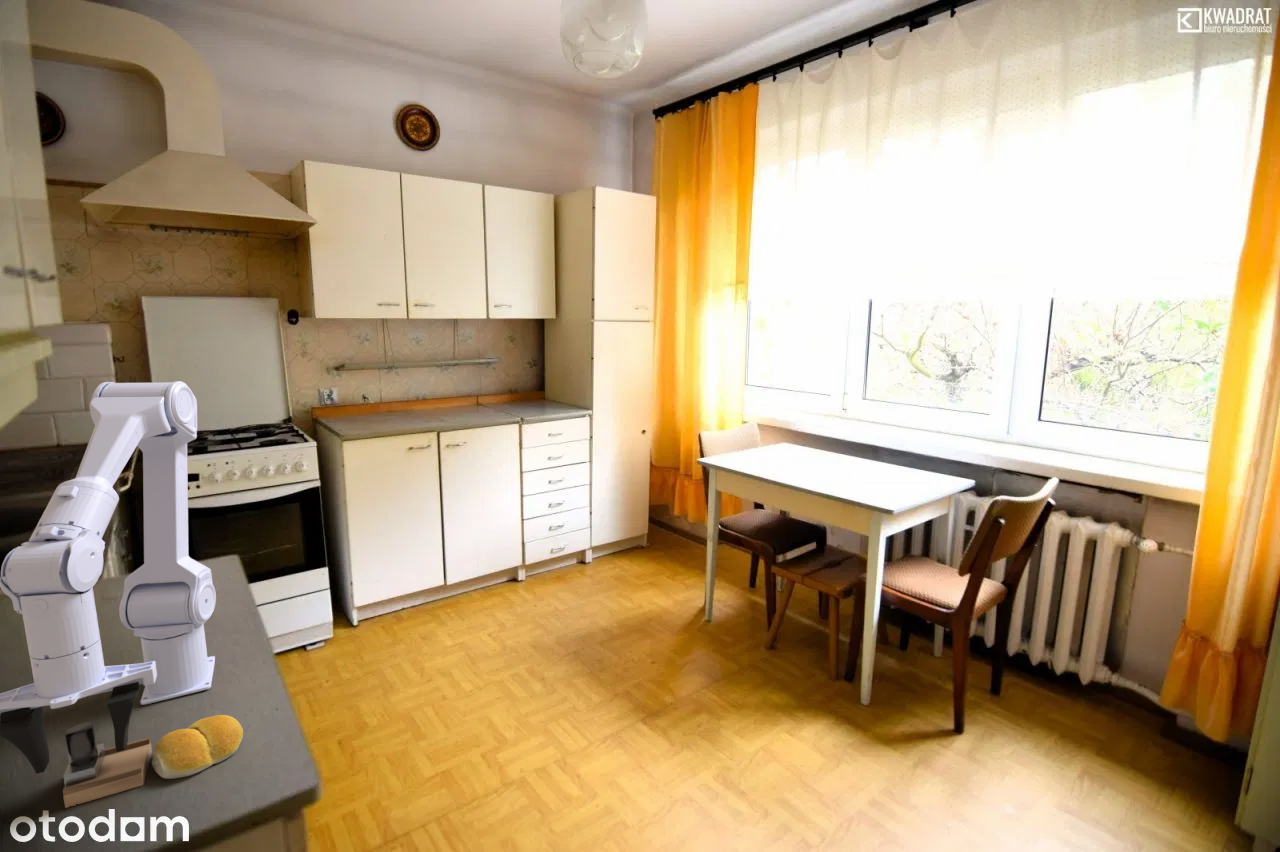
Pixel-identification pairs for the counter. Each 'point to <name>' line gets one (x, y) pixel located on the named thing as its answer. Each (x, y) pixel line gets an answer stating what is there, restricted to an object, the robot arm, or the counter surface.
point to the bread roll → (197, 746)
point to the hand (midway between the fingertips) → (83, 756)
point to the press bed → (113, 773)
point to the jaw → (83, 754)
